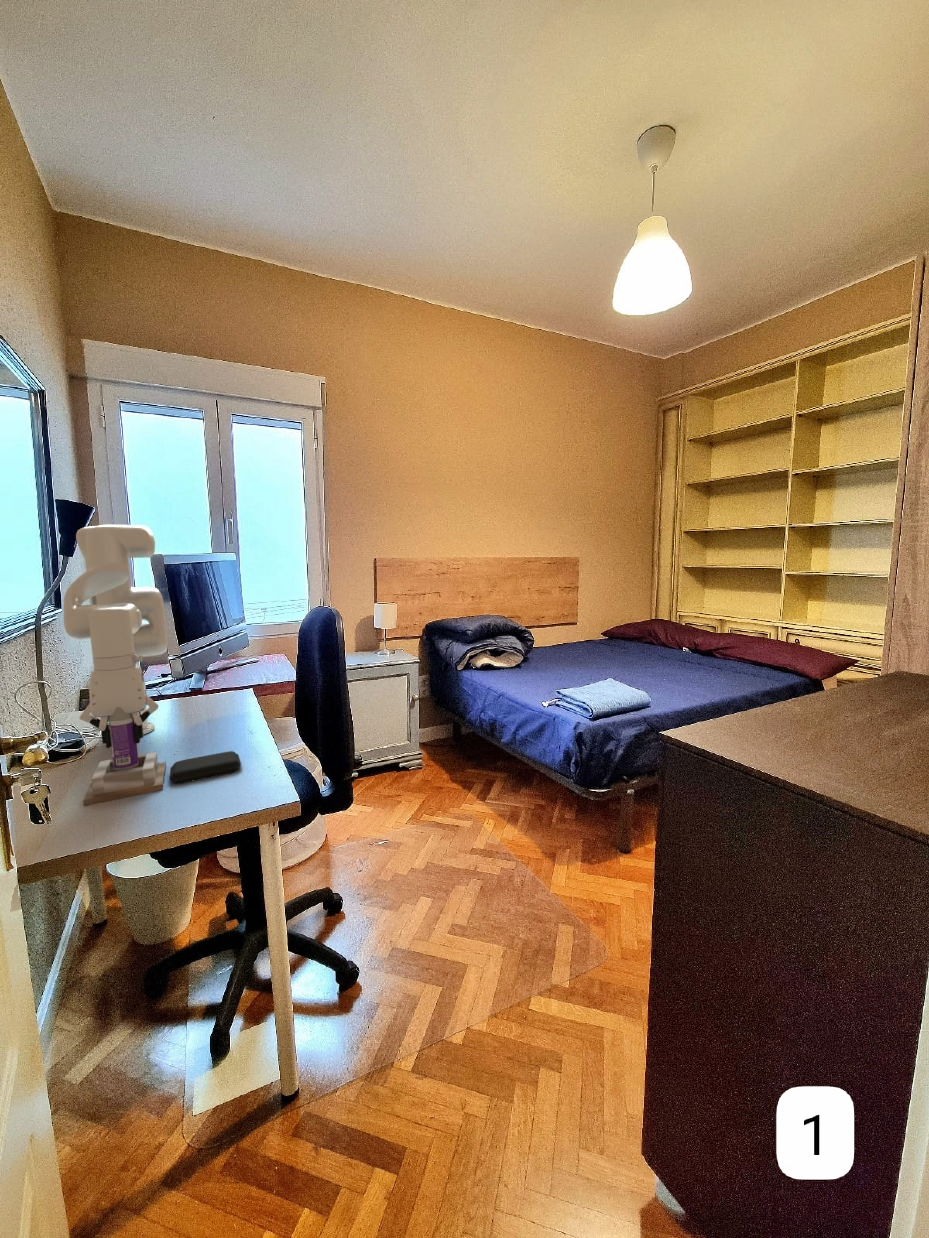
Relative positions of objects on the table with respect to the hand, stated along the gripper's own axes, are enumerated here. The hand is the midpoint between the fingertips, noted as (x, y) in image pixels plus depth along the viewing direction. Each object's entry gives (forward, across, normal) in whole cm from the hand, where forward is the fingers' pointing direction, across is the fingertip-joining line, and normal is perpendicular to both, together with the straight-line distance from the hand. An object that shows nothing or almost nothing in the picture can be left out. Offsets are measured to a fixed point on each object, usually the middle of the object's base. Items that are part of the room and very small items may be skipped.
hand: (123, 742), depth 112 cm
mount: (+10, 0, 0) cm, 10 cm away
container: (+6, 0, 0) cm, 6 cm away
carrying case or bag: (+10, -16, 0) cm, 19 cm away
